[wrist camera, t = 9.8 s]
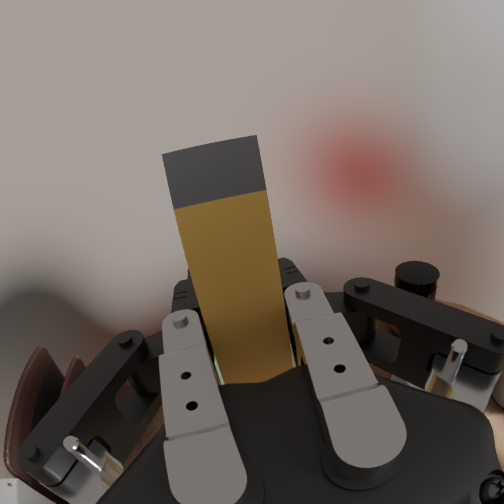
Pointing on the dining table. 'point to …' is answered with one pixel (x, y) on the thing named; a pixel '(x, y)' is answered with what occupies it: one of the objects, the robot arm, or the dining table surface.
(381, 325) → the dining table surface
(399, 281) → the supplement container
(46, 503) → the supplement box
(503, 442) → the dining table surface
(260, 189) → the yellow grey long block
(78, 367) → the letter holder
